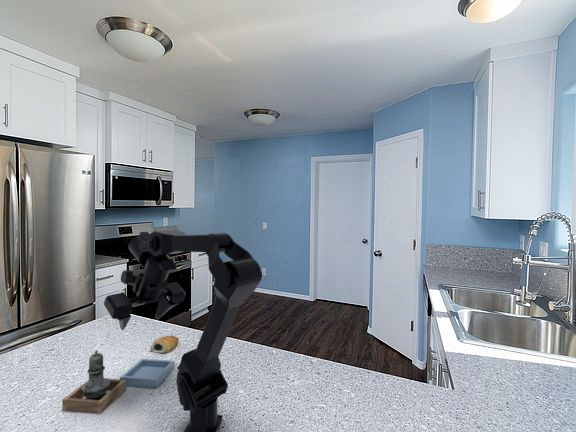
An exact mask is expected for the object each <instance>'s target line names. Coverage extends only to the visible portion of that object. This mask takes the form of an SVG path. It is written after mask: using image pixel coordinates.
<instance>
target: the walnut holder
mask: <svg viewBox="0 0 576 432" xmlns="http://www.w3.org/2000/svg"><path fill="white" fill-rule="evenodd" d="M105 378H106V377H105ZM106 379H109V380H110V384H109V387H108V389H107V391H109V392H106V393H107V394H106V395H105V396H104V397H103V398H102V399H101V400H90V399H86V398H84V397H85V396H84V394H83V391H82V390H81V388H82V386H83V385H84V384H86V383H87V382H88V380H87V381H85V382H84V383H83V384H82V385H80V386H79V387H78V388H76V389H75V390H73V391H72V392H71V393H69V394H68V395H66V396H65V397H64V398H63V399H62V401H61V402H62V404H61V405H62V412H63V411H64V412H77V413H87V414H99V415H101V414H102V413H103V412H104V411H105V410H106V409H107V408H109V406H110V405H111V404H112V403H114V402H115V400H117V399H118V398H119V397H120V396H121V395H122V394H123V393H124V392H126V390H127V386H126V380H121V379H120V378H118V379H116V378H106Z"/></svg>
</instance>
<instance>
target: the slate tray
mask: <svg viewBox="0 0 576 432" xmlns="http://www.w3.org/2000/svg"><path fill="white" fill-rule="evenodd" d="M175 362H176V361H175V360H168V359H167V360H166V359H153V358H141V359H139V360H138V361H137V362H136V363H135V364H134V365H133V366H131V367H130V368H129V369H128V370H127V371H126V372H125V373H123V374H122V375H120V377H119V379H121V380H126V387H130V386H135V388H144V387H145V389H158V388H159V386H160V385H161V384H162V383H164V381H165V380H166V378H168V376H170V374H171V373H172V372H173V371H174V369H175V368H176V366H175V365H176V363H175Z"/></svg>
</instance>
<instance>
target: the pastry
mask: <svg viewBox="0 0 576 432" xmlns="http://www.w3.org/2000/svg"><path fill="white" fill-rule="evenodd" d="M178 344H179V337H177V336H174V335H166V336H161V337H159V338H158V339H155V340H154V342H153V343H152V344H151V346H150V351H151V352H152V353H158V354H159V353H160V354H165V353H166V354H167V353H169V352H171V351H172V350H174V349H175V348H176V347H177V346H178ZM176 345H177V346H176Z"/></svg>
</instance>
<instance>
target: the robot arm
mask: <svg viewBox="0 0 576 432" xmlns="http://www.w3.org/2000/svg"><path fill="white" fill-rule="evenodd" d="M128 249H129V251H130V253H131V254H132V255H133V257H134V258H135V259H136V261H138V262H139V264H140V265H143V266H144V265H145V266H144V268H141V269H133V270H130V269H127V270H126V269H125V270H123V271H122V272H121V274H120V282H121V283H122V284H124V285H130V286H132V291H133V292H134V293H136V296H131V297H127V294H126V293H125V292H124V291H123V292H119V293H114V294H110V295H106V297H105V298H104V301H103V305H104V307H105V309H106V310H107V312H108V314H109V315H110V317H111V318H112V319H113V320H118V323H119V328H120V330H121V331H124V330H125V329H126V327H127V325H128V323H129V321H130V320H131V318H132V312H133V308H134V307H138V306H142V305H148V304H152V303H156V302H158V305H157V308H156V311H155V316H154V318H155V320H156V321H158V320H159V319H161V318H162V317H163V316H164V315H165V314H166V313H167V312H169V311H170V310H172V309H173V308H174V307H175V306H177V305H179V303H181V302H184V301H185V300H184V299H185V297H186V291H185V290H184V289H183V288H182V287H181V285H180V284H179V283H178V282H177V281H173V282H168V281H167V279H168V277H169V274H170V272H171V271H175V270H177V269H178V268H177V265H176V263H175V261H174V259H173V258H171V256H169V255H173V254H175V255H177V254H180V253H186V252H187V253H205V254H206V256H207V257H208V260H207V261H208V271H209V272H210V274H211V275H212V277H213V278H214V282H213V288H214V291H215V295H216V299H215V300H214V304H213V306H212V308H211V311H210V313H209V316H208V319H207V321H206V323H205V326H204V328H203V330H202V334H201V336H200V339H199V341H198V344H197V346H196V348H194V349H192V350H190V351H187V352H185V353H183V354H182V356H181V357H180V358H181V359H180V362H179V365H178V366H177V368H176V369H177V370H178V371H177V375H176V382H175V383H176V388H177V392H178V399H179V403H180V405H181V406H183V407H182V409H183V411H185V412H189V422H188V423H187V426H186V427H185V428H184V431H183V432H218V429H219V427H220V425H221V423H222V420H223V417H224V416H223V415H221V414H218V406H219V405H218V403H219V402H218V401H219V400H218V398H219V397H221V396H222V395H224V394H226V393H227V391H228V387H229V385H228V383H227V380H226V379H225V377H224V374H223V372H222V370H221V368H222V367H221V366H222V364H221V360H220V358H219V356H220V354H221V352H222V349H223V346H224V344H225V342H226V339H227V338H228V335H229V333H230V331H231V328H232V326H233V323H234V321H235V319H236V316H237V314H238V312H239V310H240V307H241V305H242V304H243V303H244V302H245V301H246V300H248V298H249V297H250V296H251V295H252V294H254V292H255V291H256V290H257V287H258V286H259V285H260V282H261V281H262V278H263V271H262V269H261V266H260V265H259V263H258V262H257V260H255V258H254V257H253V255H252V254H250V252H249V251H248V250H246V249H245V248H244V247H242V246H241V245H240V244H238V243H237V242H236V241H235V240H234V239H233V238H232V236H231V235H230V234H228V233H227V232H226V233H225V232H219V233H206V234H205V233H204V234H201V233H200V234H187V233H186V232H184V231H182V230H174V229H173V230H171V229H170V230H155V231H151V233H149V231H140V232H139V235H137V236H136V237H133V239H132V240H130V242H129V243H128ZM221 253H223V254H224V255H225V256H226V257H228V258H230V260H228V261H225V262H224V261H223V260H222V257H220V254H221Z"/></svg>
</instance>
